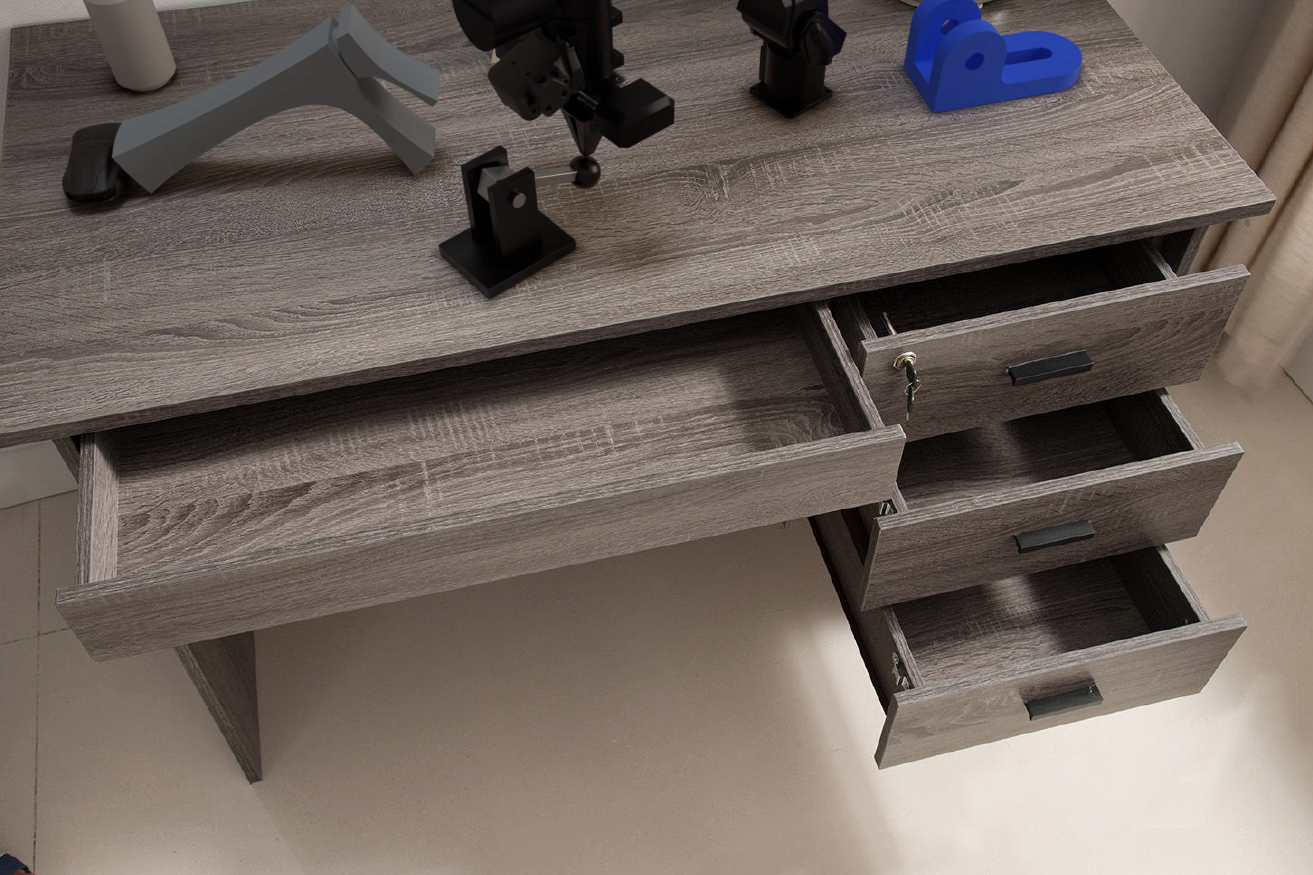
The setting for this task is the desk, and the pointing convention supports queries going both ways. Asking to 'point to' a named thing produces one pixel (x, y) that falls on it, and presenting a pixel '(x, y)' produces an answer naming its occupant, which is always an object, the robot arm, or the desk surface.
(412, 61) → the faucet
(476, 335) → the desk surface
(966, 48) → the bracket
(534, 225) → the lever switch
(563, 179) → the lever handle
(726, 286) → the desk surface
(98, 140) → the black computer mouse
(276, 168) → the desk surface
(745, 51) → the desk surface
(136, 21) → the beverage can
